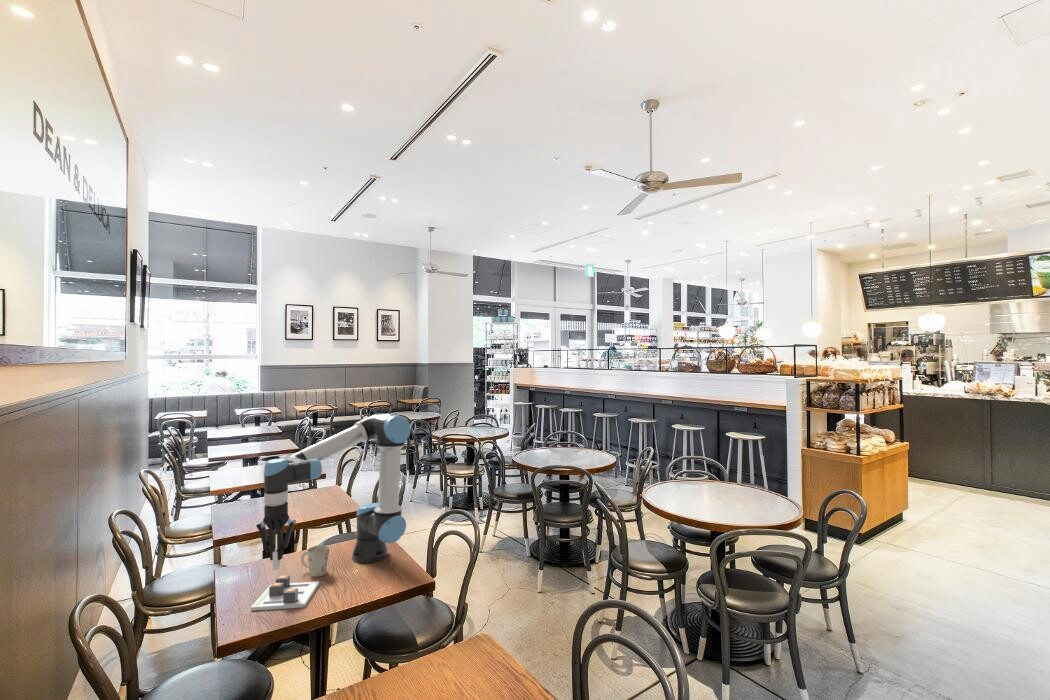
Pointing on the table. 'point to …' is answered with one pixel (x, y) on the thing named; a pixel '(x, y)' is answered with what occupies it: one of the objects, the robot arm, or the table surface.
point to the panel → (275, 594)
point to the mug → (316, 559)
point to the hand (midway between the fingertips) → (276, 568)
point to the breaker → (290, 595)
